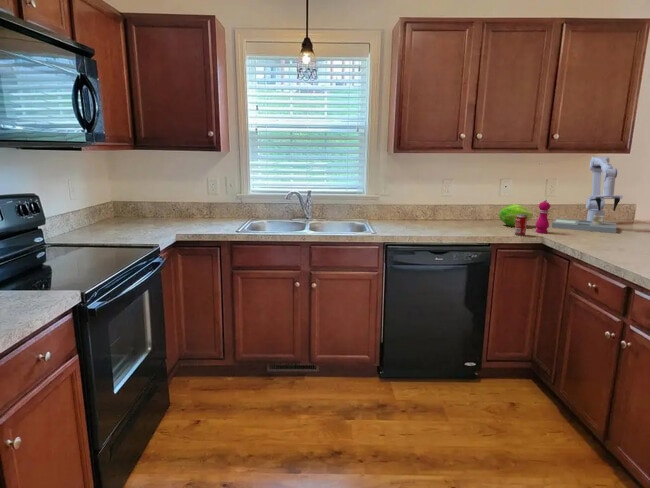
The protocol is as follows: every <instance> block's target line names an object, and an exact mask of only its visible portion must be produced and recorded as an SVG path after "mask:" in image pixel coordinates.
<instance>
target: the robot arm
mask: <svg viewBox="0 0 650 488" xmlns="http://www.w3.org/2000/svg"><path fill="white" fill-rule="evenodd" d="M589 170H590V171H592V172H591V173H592V181H591V182H592V183H591V185H592V186H591V195H590V196H589V197H587V198H586V202H585V208H586V210H587V215H586V221H593V217H594V215H596V216H603V222H605V216H606V215H605V214H606V212H605V211H604V208H605V207H606V206H605V205H606V204H605V200H606V199H607V200H612V199H613V201H614V202H613V208H612V209H613V212H615V211H616V210H617V206H618V204H619V203H620V202H621V200H623V195H615V186H616V178H617V177H618V169H617V168H614V167H613V166H612V164H611V163H610V157H609V156H591V158H590V160H589ZM602 180H603V186H602V194H601V183H602V182H601V181H602Z"/></svg>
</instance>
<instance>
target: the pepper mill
mask: <svg viewBox="0 0 650 488" xmlns="http://www.w3.org/2000/svg"><path fill="white" fill-rule="evenodd" d="M538 208H539V211H538V213H539V217H538V218H537V221H536V222H535V228H536V229H535V233H536V232H537V234H548V228H549V227H550V222H549V219H548V214H549V209H551V204H550V203H549V202H548V201H547V199H543V201H542V202H540V203H539V204H538Z"/></svg>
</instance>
